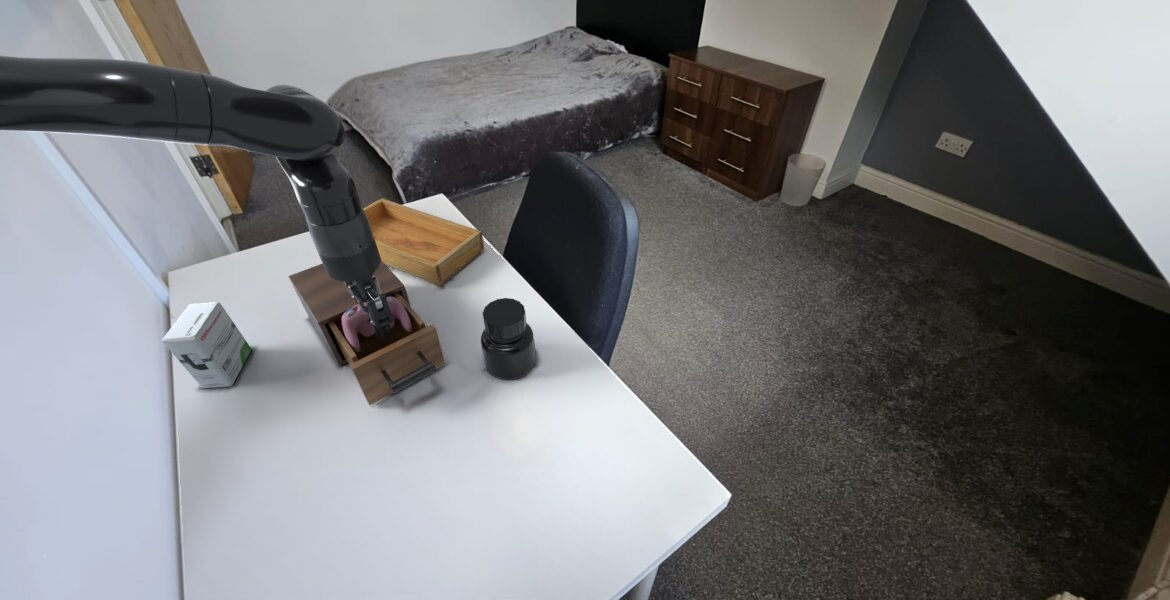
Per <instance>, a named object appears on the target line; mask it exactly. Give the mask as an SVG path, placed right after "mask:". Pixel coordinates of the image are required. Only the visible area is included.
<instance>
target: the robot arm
mask: <svg viewBox="0 0 1170 600" xmlns="http://www.w3.org/2000/svg"><path fill="white" fill-rule="evenodd" d="M0 131H2V132H4V131H5V132H7V131H8V132H35V133H54V134H71V135H85V136H96V137H97V136H98V137H99V136H100V137H110V138H120V139H121V138H122V139H123V138H124V139H133V140H144V141H154V142H165V143H175V144H185V145H186V144H187V145H195V146H196V145H198V146H209V147H227V148H233V149H239V150H243V151H248V152H252V153H256V154H260V155H261V154H262V155H265V156H266V155H267V156H272V157H275V158H276V160H277V161H278V163H279V165H280V167H281V168H282V170H283V172H284V173H285V174H286V176H287V178H288V179H289V182H290V184H291V186H292V188H293V191H294V194H295V196H296V199H297V201H298V204H299V207H300V209H301V212H302V214H303V216H304V218H305V221H306V224H307V228H308V232H309V235H310V238H311V240H312V243H313V244H314V247H315V250H316V252H317V254H318V256H319V258H320V261H321V264H322V263H323V266H324V268H325V270H326V272H327V274H328V276H329V277H331V278H332V279H334V280H337V281H343V283H344V284H345V286H346V289H347V291H348V293H349V294H350V296H352V299H354V301H356V300H357V301H356V304H359V306H360V308H361V310H362V311H363V312H364V313H367V314H368V316H369V318H370V322H371V324H373V327H374V330H375V332H376V335H377V337H378V339H379V340H380V341H383V340H385V339H387V338H389V337H391V336H392V335H393V333H392V330H391V327H390V323H392V322H393V318H392V316H391V312H390V309H389V305H388V302H387V299H386V298H387V297H386V295H384V294H382V293H381V291H380V289H379V287H380V285H379V282H378V280H377V278H376V277H375V276H373V277H372V275H373V274H374V273H375V271H376V270H377V269H378V268H379V267H380V264H381V257H380V254H379V251H378V248H377V245H376V241H375V238H374V235H373V232H372V229H371V226H370V223H369V220H368V218H367V216H366V214H365V212H364V210H363V209H364V208H363V206H362V202H361V199H360V197H359V192H358V190H357V187H356V185H355V182H354V180H353V177H352V175H351V174H350V172H349V171H348V170H347V168H345V166H344V165H343V164H342V163H341V162H340V160H339V158H338V157H337V155H336V153H338V152H339V151H340V149H341V148H342V146H343V144H344V142H345V135H346V131H345V126H344V123H343V121H342V119H341V117H340V115H339V114H338V113H337V112H336V111H335V109H333V107H332V106H330V105H329V104H328V103H327V102H326V101H323V100H321V99H320V98H318V97H316V96H315V95H314V94H312V93H309V92H308V91H306V90H304V89H302V88H300V87H298V86H294V85H290V84H277V85H274V86H271V87H269V88H268V89H266V90H262V89H258V88H257V89H255V88H251V87H247V86H243V85H240V84H237V83H235V82H232V81H230V80H229V79H226V78H223V77H219V76H217V75H212V74H208V73H203V72H198V71H193V70H188V69H183V68H176V67H172V66H166V65H162V64H161V65H160V64H155V63H150V62H142V61H135V60H127V59H126V60H125V59H115V58H113V59H112V58H82V57H81V58H77V57H75V58H73V57H72V58H71V57H69V58H68V57H66V58H62V57H58V58H57V57H55V58H54V57H18V56H7V55H0ZM365 302H367V306H365V305H364V303H365Z"/></svg>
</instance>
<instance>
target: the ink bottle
mask: <svg viewBox="0 0 1170 600" xmlns="http://www.w3.org/2000/svg"><path fill="white" fill-rule="evenodd" d="M482 319H483V325H484V329H483V331H482V333H481V336H480V345H481V351H482V356H483V361H484V367H485V370H487V372H488V373H489V374H490V375H491V376H493V377H495V378H498V379H503V380H515V379H519V378H521V377H524V376H525V375H526V374H528V373H529V372H530V371H531V369H533V367H534V365H535V361H536V343H535V335H534V331H533V328H532V327H531V326H530V325H529V323H527V316H526V309H525V305H524V304H522V302H521V301H520V300H517V299H515V298H508V297H503V298H496V299H495V300H492V301H490V302H489V303H488V304H487V305H486V306H484V308H483V311H482Z"/></svg>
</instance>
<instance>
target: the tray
mask: <svg viewBox="0 0 1170 600" xmlns="http://www.w3.org/2000/svg"><path fill="white" fill-rule="evenodd" d="M363 210H364V212H365V214H366V216H367V218H368V220H369V223H370V226H371V229H372V232H373V235H374V238H375V241H376V245H377V248H378V251H379V254H380V257H381V260H382V261H383V262H384V264H385V265H386V266H390V267H392V268H396V269H398V270H400V271H403V272H406V273H408V274H411V275H412V276H415V277H418V278H421V279H423V280H426V281H429V282H431V283H432V284H433V283H434V284H436V285H439V286H442V285H443V284H444V283H445V282H446V281H448V280H449V279H450V278H451V277H453V276H454V275H455V274H456V273H457V272H459V271H460V270H461V269H462V268H463V267H465V266H466V265H467V264H468V263H470V262H471V261H472V260H473V259H474V258H475V257H477V256H478V255H479V254H481V252H483V251H484V250H485V244H484V237H483V232H482V231H481V230H480V229H476V228H473V227H469V226H467V225H463V224H460V223H457V222H455V221H451V220H450V219H449V220H448V219H445V218H443V217H439V216H436V215H433V214H431V213H427V212H425V211H421V210H418V209H415V208H412V207H409V206H406V205H403V204H400V203H397V202H394V201H391V200H388V199H386V198H379V199H378V200H376V201H375V202H372V203H371V204H369V205H367V206H366V207H364V208H363Z"/></svg>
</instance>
